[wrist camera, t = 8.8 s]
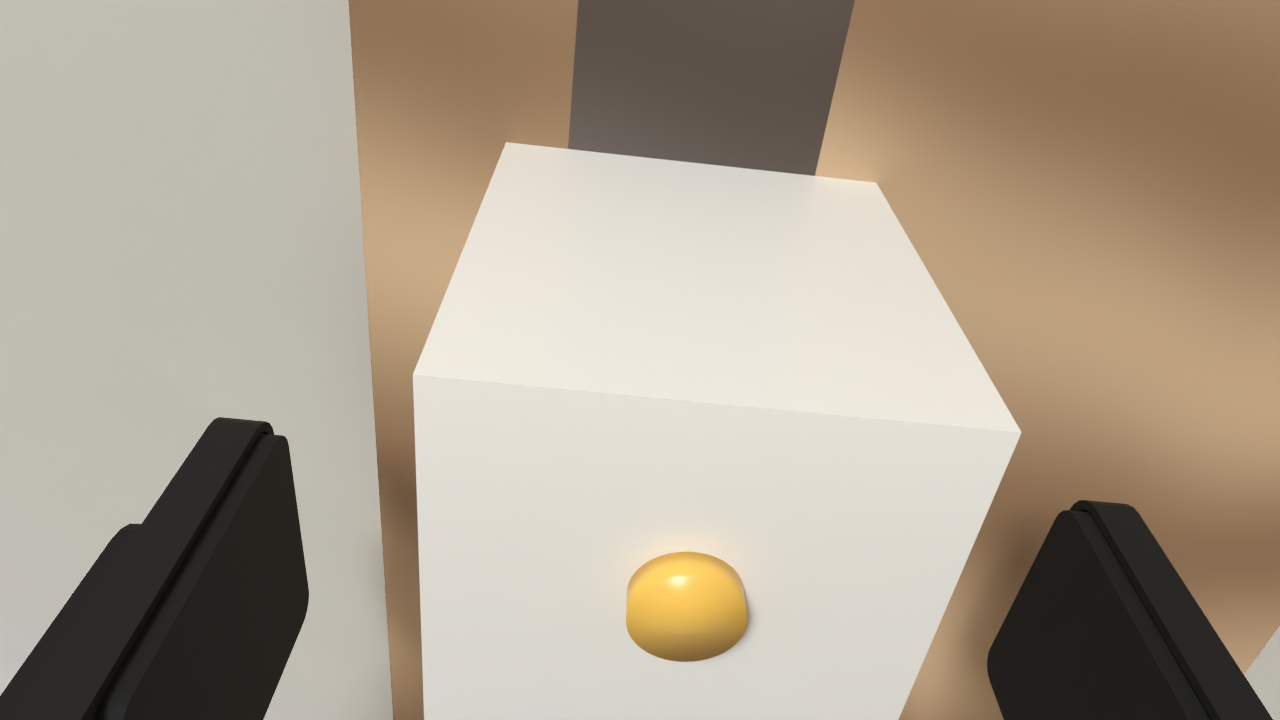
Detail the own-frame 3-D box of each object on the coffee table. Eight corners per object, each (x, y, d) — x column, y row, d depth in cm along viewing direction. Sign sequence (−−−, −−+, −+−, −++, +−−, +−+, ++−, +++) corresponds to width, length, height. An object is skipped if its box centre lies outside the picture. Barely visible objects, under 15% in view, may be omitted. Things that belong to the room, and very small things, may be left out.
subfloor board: (357, -342, 9) (325, -356, 8) (1743, -152, 10) (1845, -147, 9) (408, 742, 19) (397, 788, 18) (1102, 793, 19) (1122, 839, 19)
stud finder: (505, 142, 11) (403, 397, 6) (876, 182, 11) (1036, 459, 6) (490, 644, 15) (427, 992, 11) (747, 665, 16) (786, 1012, 11)
